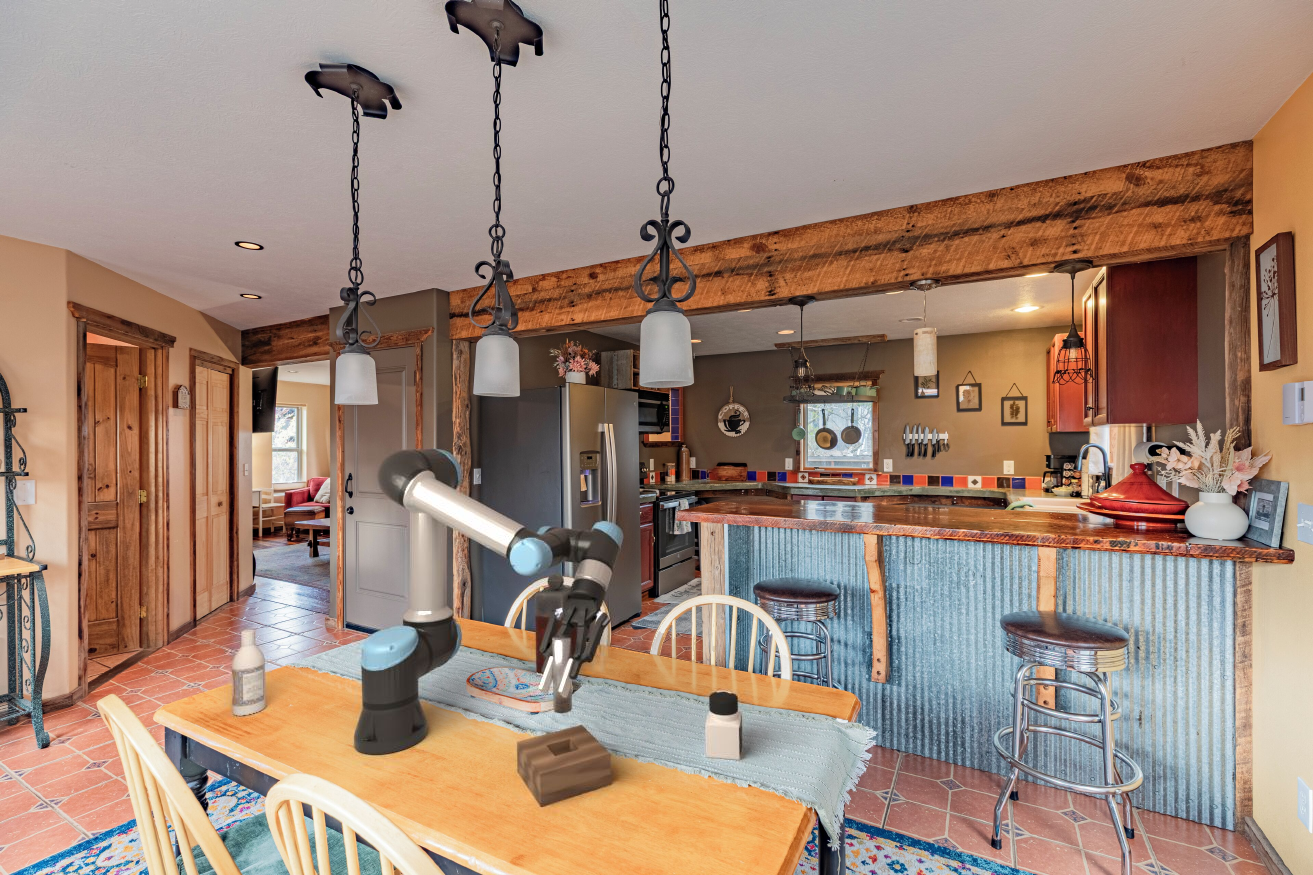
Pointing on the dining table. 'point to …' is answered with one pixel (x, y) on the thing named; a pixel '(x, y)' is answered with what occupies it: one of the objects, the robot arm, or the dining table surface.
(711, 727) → the medicine bottle
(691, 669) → the dining table surface
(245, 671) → the bath foam
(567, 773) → the bore block
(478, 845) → the dining table surface
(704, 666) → the dining table surface
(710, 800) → the dining table surface
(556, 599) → the square glass decanter
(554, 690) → the steel pin
